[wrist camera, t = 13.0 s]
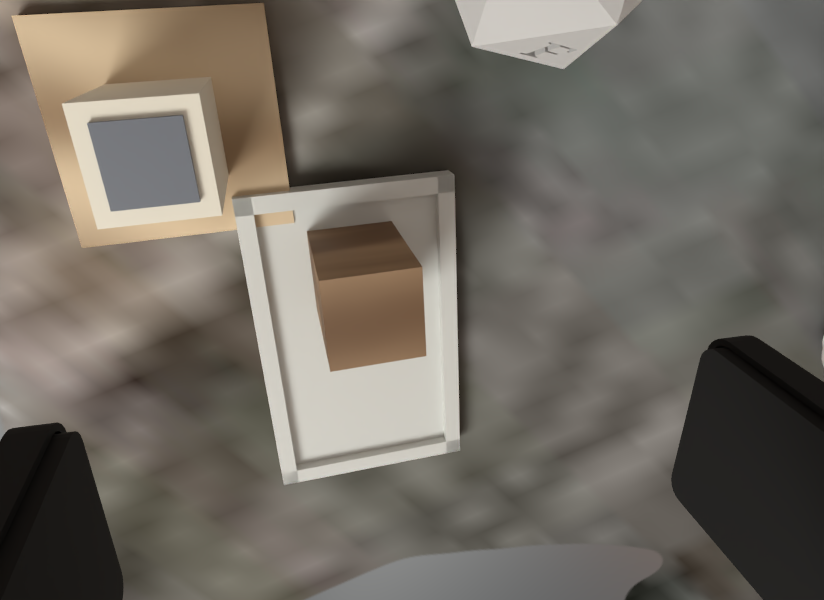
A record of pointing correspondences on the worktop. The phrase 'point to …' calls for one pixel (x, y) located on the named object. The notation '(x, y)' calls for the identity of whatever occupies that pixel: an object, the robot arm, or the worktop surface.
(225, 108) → the pad
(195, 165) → the label box
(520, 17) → the die
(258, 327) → the tray
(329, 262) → the walnut block
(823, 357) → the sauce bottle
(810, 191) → the worktop surface
